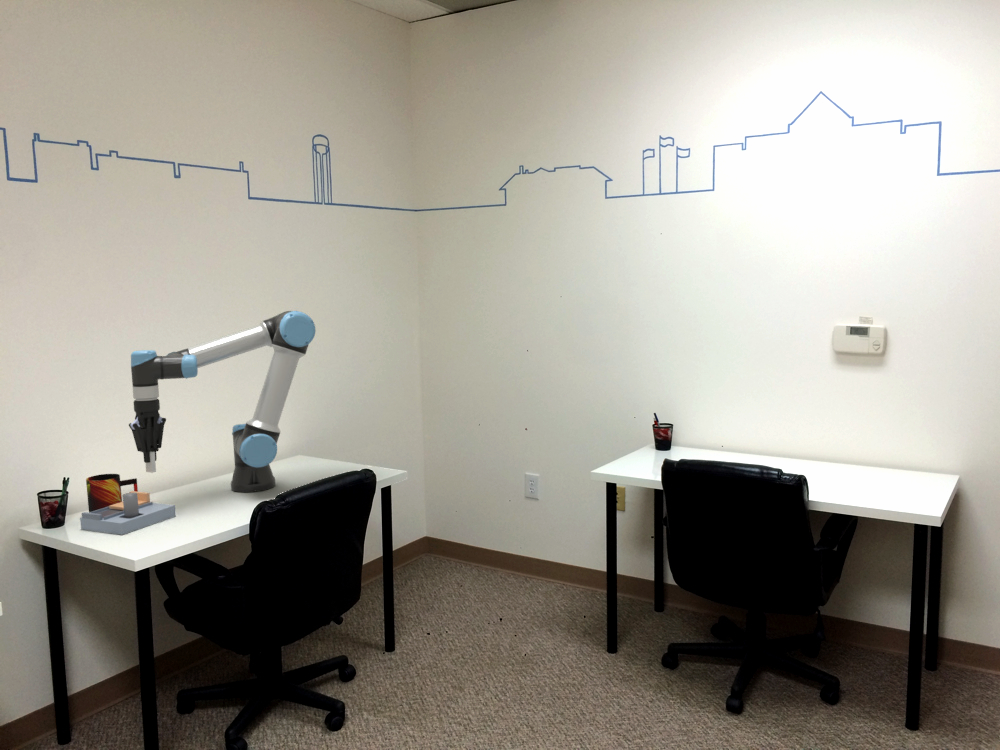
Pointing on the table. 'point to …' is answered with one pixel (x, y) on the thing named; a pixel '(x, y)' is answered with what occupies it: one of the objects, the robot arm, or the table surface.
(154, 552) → the table surface
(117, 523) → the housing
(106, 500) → the mug
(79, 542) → the table surface
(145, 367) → the robot arm
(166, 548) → the table surface
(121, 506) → the lid
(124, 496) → the pin
